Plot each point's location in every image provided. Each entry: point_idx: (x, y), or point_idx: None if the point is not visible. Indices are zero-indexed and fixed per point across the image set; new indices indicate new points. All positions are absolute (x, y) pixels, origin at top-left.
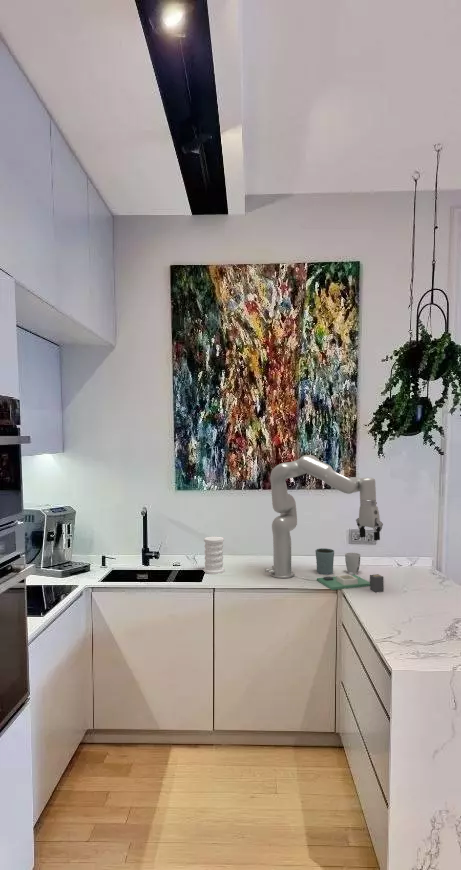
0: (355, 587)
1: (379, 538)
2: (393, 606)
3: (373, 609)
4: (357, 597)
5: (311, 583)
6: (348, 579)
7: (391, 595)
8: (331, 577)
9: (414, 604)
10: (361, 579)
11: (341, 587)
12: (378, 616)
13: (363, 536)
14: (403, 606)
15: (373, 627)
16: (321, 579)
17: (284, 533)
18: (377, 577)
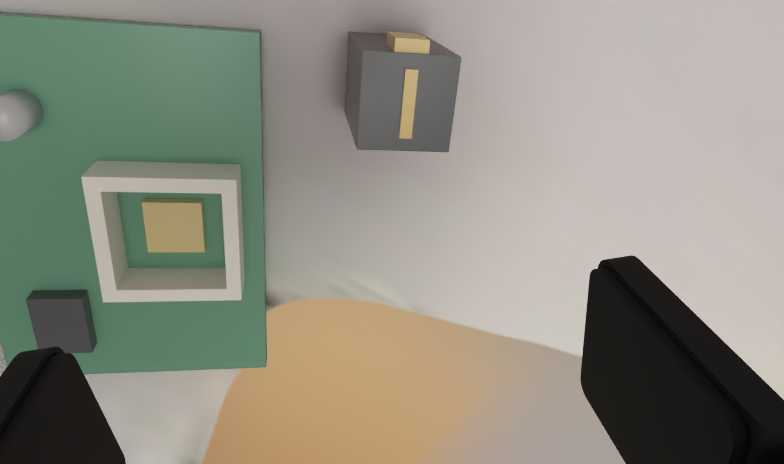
0: (263, 189)
1: (647, 282)
2: (678, 174)
3: None
4: (454, 282)
5: None
6: (233, 260)
7: (526, 41)
8: (59, 304)
9: (738, 16)
10: (111, 51)
11: (265, 300)
12: (718, 324)
13: (94, 414)
14: (714, 116)
15: None
16: None
17: None
18: (451, 127)
